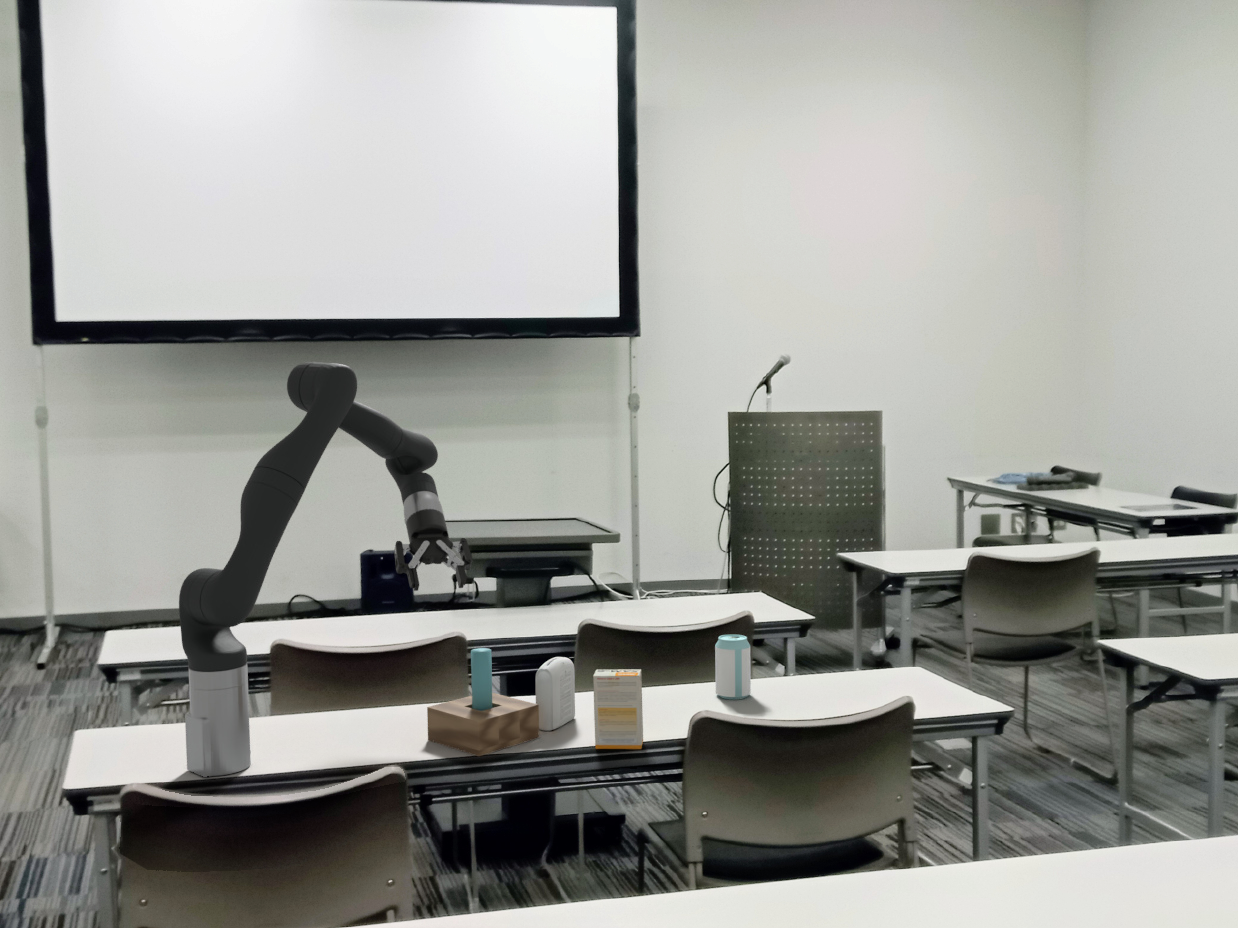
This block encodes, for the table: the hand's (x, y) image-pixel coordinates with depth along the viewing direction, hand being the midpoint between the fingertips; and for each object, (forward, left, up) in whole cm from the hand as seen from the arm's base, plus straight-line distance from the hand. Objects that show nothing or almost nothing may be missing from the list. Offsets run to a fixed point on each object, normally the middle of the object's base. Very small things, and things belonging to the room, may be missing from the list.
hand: (439, 586), depth 215 cm
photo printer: (+14, -16, -26) cm, 34 cm away
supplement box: (+12, -34, -26) cm, 45 cm away
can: (+51, -29, -26) cm, 64 cm away
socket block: (-1, -13, -26) cm, 29 cm away
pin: (-1, -13, -25) cm, 28 cm away
